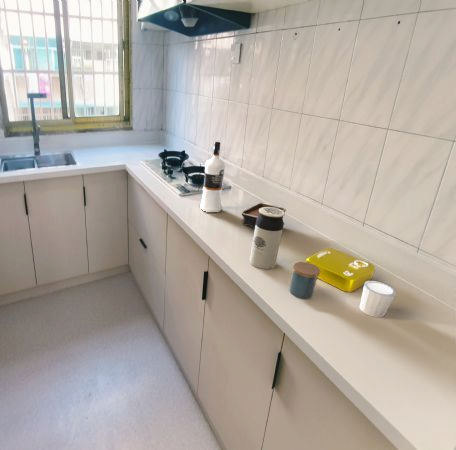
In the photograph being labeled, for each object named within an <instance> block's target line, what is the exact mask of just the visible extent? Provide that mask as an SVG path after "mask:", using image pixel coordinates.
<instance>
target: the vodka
mask: <svg viewBox="0 0 456 450" xmlns="http://www.w3.org/2000/svg"><path fill="white" fill-rule="evenodd" d="M220 152H221V141H214V142H213V152H212V153H213V154H212V157H211V158H210V159H208V160H206V161H205V164H204V179H203V187H202V196H201V197H202V198H201V201H200V205H199V206H200V210H201V209H202V210H203V211H202V210H201V211H202V212H204V211H206V212H205V213H207V212H217V213H219V212H221V210H222V195H223V194H222V193H223V185H224V176H225V169H226V163H225V162H224V160H222V159H221V158H220Z"/></svg>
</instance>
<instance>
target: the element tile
mask: <svg viewBox="0 0 456 450" xmlns="http://www.w3.org/2000/svg"><path fill="white" fill-rule="evenodd" d="M305 260H306V261H305V262H307V263H311V264H313V265H315V266H317V267H318V268H319V269H320V274H319V276H318V277H317V280H320V281H323V282H325V284H326V283H327V284H329V285H330V286H333V287H335V288H337V289H339V290H341V291H343V292H346V293H353V292H354V291H356V290H358V289H360V288H361V287H362V286H364V284H365V282H367V281H372V278H373V275H374V273H375V270H376V266H375V264H373V263H370V262H368V261H365V260H363V259H361V258H358V257H355V256H354V255H350V254H348V253H347V252H343V251H342V250H339V249H336V248H334V247H326V248H324V249H322V250H320V251H318V252H316V253H314V254H311V255H310V256H308V257H307V258H306V259H305Z"/></svg>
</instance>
